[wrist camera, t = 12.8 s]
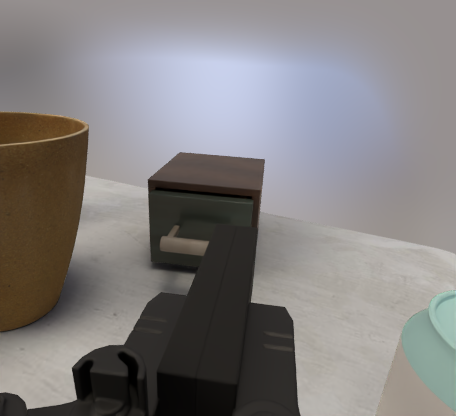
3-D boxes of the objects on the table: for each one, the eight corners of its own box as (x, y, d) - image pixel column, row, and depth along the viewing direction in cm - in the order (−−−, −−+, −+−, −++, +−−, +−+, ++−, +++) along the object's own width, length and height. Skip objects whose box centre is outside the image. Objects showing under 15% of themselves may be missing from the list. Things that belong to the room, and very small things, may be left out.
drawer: (243, 297, 32) (249, 221, 29) (135, 284, 33) (131, 209, 30) (253, 226, 46) (258, 171, 43) (178, 218, 47) (178, 164, 44)
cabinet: (252, 272, 37) (260, 189, 34) (150, 260, 38) (147, 179, 35) (258, 224, 49) (264, 159, 45) (179, 216, 50) (179, 152, 46)
